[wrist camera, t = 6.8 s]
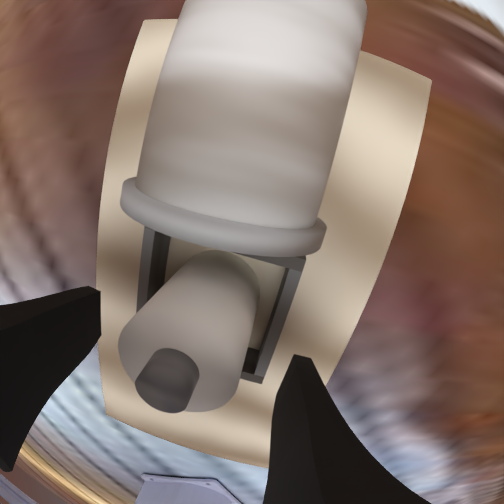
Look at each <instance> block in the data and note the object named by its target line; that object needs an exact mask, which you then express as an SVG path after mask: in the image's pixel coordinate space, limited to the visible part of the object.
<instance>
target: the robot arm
mask: <svg viewBox="0 0 504 504" xmlns="http://www.w3.org/2000/svg"><path fill="white" fill-rule="evenodd" d="M101 335H102V333H101V291H99V290H96V289H94V288H92V287H89V286H86V287H80V288H75V289H71V290H67V291H63V292H60V293H56V294H52V295H48V296H44V297H40V298H36V299H32V300H27V301H23V302H18V303H13V304H7V305H0V468H1V469H2V470H3V471H5V472H10V471H12V470H13V467H14V464H15V462H16V459H17V456H18V454H19V451H20V449H21V447H22V444H23V442H24V440H25V438H26V436H27V434H28V432H29V430H30V428H31V427H32V425H33V423H34V421H35V420H36V418H37V416H38V415H39V413H40V411H41V410H42V408H43V407H44V405H45V404H46V402H47V401H48V399H49V398H50V396H51V395H52V394H53V393H54V391H55V390H56V389H57V388H58V387H59V386H60V385H61V383H62V382H63V381H64V380H65V379H66V378H67V377H68V376H69V375H70V374H71V373H72V372H73V370H74V369H75V368H76V367H77V366H78V365H79V364H80V363H81V362H82V361H83V360H84V358H85V357H86V356H87V355H88V354H89V353H90V351H91V350H92V348H93V347H94V346H95V344H96V343H97V341H98V340H99V338H100V337H101ZM141 478H142V479H144V480H145V482H144V484H143V486H142V488H141V490H140V493H139V495H138V497H137V499H136V501H135V504H241V503H240V502H239V501H238V500H237V499H236V498H235V497H234V496H233V495H231V494H230V493H229V492H228V491H227V490H226V489H225V488H224V487H223V486H222V485H221V484H220V483H219V482H218V481H217V480H214V479H191V478H176V477H165V476H155V475H147V474H142V475H141ZM0 495H1V496H2V497H3V498H4V499H5V500H6V501H7V502H9V503H10V504H38V503H37V502H35V501H34V500H32V499H31V498H30V497H28V496H27V495H26V494H24V493H23V492H22V491H21V490H19V489H18V488H17V487H15V486H14V485H13V484H12V483H11V482H9V481H8V480H7V479H6V478H5V477H4V476H3V475H1V474H0ZM0 504H1V503H0ZM263 504H431V503H430V502H428V501H426V500H425V499H423V498H422V497H420V496H419V495H417V494H416V493H414V492H413V491H411V490H410V489H409V488H407V487H406V486H405V485H403V484H402V483H401V482H400V481H399V480H397V479H396V478H395V477H394V476H393V475H392V474H390V473H389V472H388V471H387V470H386V469H385V468H384V467H383V466H382V465H381V464H380V463H379V462H378V461H377V460H376V459H375V458H374V457H373V456H372V455H371V454H370V452H369V451H368V450H367V449H366V448H365V447H364V445H363V444H362V443H361V442H360V440H359V439H358V438H357V437H356V435H355V434H354V433H353V431H352V430H351V429H350V427H349V426H348V424H347V423H346V421H345V420H344V418H343V417H342V415H341V414H340V412H339V410H338V409H337V407H336V405H335V404H334V402H333V400H332V398H331V396H330V394H329V393H328V391H327V389H326V387H325V385H324V383H323V381H322V379H321V377H320V375H319V373H318V371H317V369H316V367H315V365H314V363H313V361H312V359H311V358H309V357H305V356H301V355H297V354H294V355H293V357H292V359H291V362H290V364H289V366H288V369H287V371H286V373H285V376H284V378H283V380H282V382H281V385H280V387H279V389H278V391H277V394H276V398H275V403H274V409H273V414H272V422H271V439H270V456H269V471H268V480H267V485H266V490H265V495H264V500H263Z"/></svg>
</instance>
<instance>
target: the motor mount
mask: <svg viewBox="0 0 504 504" xmlns="http://www.w3.org/2000/svg"><path fill="white" fill-rule="evenodd" d="M366 17H367V6H366V2H365V0H186V1H185V3H184V6H183V8H182V11H181V13H180V16H179V19H155V20H144V22H143V25H142V27H141V30H140V33H139V35H138V38H137V41H136V44H135V47H134V50H133V53H132V56H131V59H130V62H129V66H128V69H127V72H126V76H125V79H124V83H123V86H122V90H121V94H120V98H119V102H118V106H117V110H116V115H115V119H114V124H113V128H112V133H111V138H110V143H109V149H108V155H107V160H106V167H105V173H104V180H103V188H102V196H101V205H100V215H99V227H98V241H97V262H96V290H99V291H101V333H102V335H101V337H100V338H99V340H98V351H99V363H100V373H101V381H102V389H103V396H104V403H105V410H106V415H108V416H110V417H112V418H115V419H117V420H119V421H121V422H123V423H125V424H128V425H130V426H132V427H134V428H137V429H139V430H141V431H144V432H146V433H149V434H151V435H154V436H156V437H159V438H161V439H164V440H167V441H170V442H172V443H175V444H178V445H181V446H184V447H187V448H190V449H193V450H196V451H200V452H203V453H206V454H210V455H213V456H217V457H220V458H224V459H228V460H232V461H236V462H240V463H245V464H249V465H254V466H259V467H264V468H269V456H270V439H271V422H272V414H273V409H274V403H275V398H276V394H277V391H278V389H279V387H280V385H281V382H282V380H283V378H284V376H285V373H286V371H287V369H288V366H289V364H290V362H291V359H292V357H293V355H294V354H297V355H301V356H305V357H309V358H311V359H312V361H313V363H314V365H315V367H316V369H317V371H318V373H319V375H320V377H321V379H322V381H323V383H324V385H325V386H326V384H327V382H328V380H329V378H330V377H331V375H332V373H333V371H334V369H335V367H336V365H337V363H338V361H339V360H340V358H341V356H342V354H343V352H344V350H345V348H346V346H347V344H348V342H349V340H350V338H351V335H352V333H353V331H354V329H355V327H356V325H357V323H358V321H359V318H360V316H361V314H362V312H363V309H364V307H365V305H366V303H367V300H368V298H369V296H370V293H371V291H372V289H373V286H374V284H375V281H376V279H377V276H378V274H379V271H380V269H381V266H382V264H383V261H384V258H385V256H386V253H387V250H388V248H389V245H390V242H391V239H392V236H393V234H394V231H395V228H396V225H397V222H398V219H399V216H400V213H401V209H402V206H403V203H404V200H405V197H406V193H407V190H408V186H409V183H410V179H411V176H412V172H413V168H414V164H415V161H416V157H417V153H418V148H419V144H420V140H421V135H422V131H423V126H424V121H425V116H426V111H427V106H428V100H429V94H430V88H431V82H432V80H430V79H428V78H426V77H424V76H422V75H420V74H418V73H416V72H414V71H411V70H409V69H407V68H405V67H402V66H400V65H398V64H395V63H393V62H390V61H388V60H385V59H383V58H380V57H378V56H375V55H372V54H369V53H367V52H364V51H361V50H360V48H361V43H362V38H363V33H364V28H365V22H366ZM207 250H223V251H227V252H230V253H233V254H235V255H237V256H239V257H240V258H242V259H243V260H244V261H245V262H246V263H248V264H249V266H250V267H251V268H252V269H253V271H254V272H255V274H256V276H257V279H258V282H259V286H260V299H259V303H258V307H257V311H256V315H255V319H254V324H253V328H252V332H251V336H250V340H249V344H248V348H247V352H246V356H245V360H244V364H243V368H242V372H241V376H240V380H239V384H238V388H237V391H236V393H235V395H234V396H233V397H232V399H231V400H230V401H229V402H228V403H226V404H225V405H223V406H222V407H220V408H217V409H215V410H211V411H206V412H187V411H182V412H179V413H166V412H162V411H159V410H157V409H155V408H153V407H151V406H150V405H148V404H147V403H146V402H145V401H144V400H143V399H142V398H141V397H140V396H139V394H138V393H137V390H136V387H135V384H134V382H133V381H132V380H131V379H130V377H129V376H128V375H127V373H126V371H125V370H124V368H123V365H122V363H121V360H120V357H119V352H118V341H119V336H120V333H121V331H122V329H123V328H124V326H125V325H126V324H127V323H128V322H129V321H130V320H131V319H132V318H133V317H134V315H135V314H136V313H137V312H138V311H139V310H140V309H141V308H142V307H143V306H144V305H145V304H146V303H147V302H148V301H149V300H150V299H151V298H152V297H153V296H154V295H155V294H156V293H157V292H158V291H159V289H160V288H161V287H162V286H163V285H164V284H165V283H166V282H167V281H168V280H169V279H170V278H171V277H172V276H173V275H174V274H175V273H176V272H177V271H178V270H179V269H180V268H181V267H182V266H183V265H184V264H185V263H186V262H187V261H188V260H189V259H190V258H192V257H193V256H194V255H196V254H198V253H200V252H203V251H207Z"/></svg>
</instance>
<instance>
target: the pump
mask: <svg viewBox="0 0 504 504" xmlns="http://www.w3.org/2000/svg"><path fill="white" fill-rule="evenodd" d="M259 299H260V286H259V282H258V279H257V276H256V274H255V272H254V271H253V269H252V268H251V267H250V266H249V264H248V263H246V262H245V261H244V260H243V259H242V258H240V257H239V256H237V255H235V254H233V253H230V252H227V251H223V250H207V251H203V252H200V253H198V254H196V255H194V256H193V257H192V258H190V259H189V260H188V261H187V262H186V263H185V264H184V265H183V266H182V267H181V268H180V269H179V270H178V271H177V272H176V273H175V274H174V275H173V276H172V277H171V278H170V279H169V280H168V281H167V282H166V283H165V284H164V285H163V286H162V287H161V288H160V289H159V291H158V292H157V293H156V294H155V295H154V296H153V297H152V298H151V299H150V300H149V301H148V302H147V303H146V304H145V305H144V306H143V307H142V308H141V309H140V310H139V311H138V312H137V313H136V314H135V315H134V317H133V318H132V319H131V320H130V321H129V322H128V323H127V324H126V325H125V326H124V328H123V329H122V331H121V333H120V336H119V341H118V352H119V357H120V360H121V363H122V365H123V368H124V370H125V371H126V373H127V375H128V376H129V377H130V379H131V380H132V381H133V382H134V384H135V387H136V390H137V393H138V394H139V396H140V397H141V398H142V399H143V400H144V401H145V402H146V403H147V404H148V405H150V406H151V407H153V408H155V409H157V410H159V411H162V412H166V413H179V412H182V411H187V412H206V411H211V410H215V409H217V408H220V407H222V406H223V405H225V404H226V403H228V402H229V401H230V400H231V399H232V397H233V396H234V395H235V393H236V391H237V388H238V384H239V380H240V376H241V372H242V368H243V364H244V360H245V356H246V352H247V348H248V344H249V340H250V336H251V332H252V328H253V324H254V319H255V315H256V311H257V307H258V303H259Z"/></svg>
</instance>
